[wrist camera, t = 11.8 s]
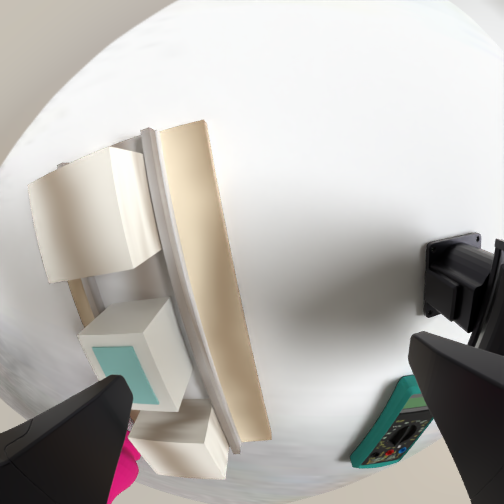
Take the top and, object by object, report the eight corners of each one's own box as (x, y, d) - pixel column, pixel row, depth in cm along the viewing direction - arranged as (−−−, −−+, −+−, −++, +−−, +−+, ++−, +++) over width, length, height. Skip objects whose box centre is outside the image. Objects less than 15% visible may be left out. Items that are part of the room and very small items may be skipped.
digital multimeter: (346, 457, 25) (350, 474, 22) (399, 371, 21) (411, 389, 19) (392, 451, 25) (398, 466, 22) (448, 368, 22) (461, 383, 19)
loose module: (170, 296, 18) (142, 334, 13) (193, 366, 19) (177, 413, 14) (111, 303, 18) (75, 336, 13) (138, 368, 20) (113, 408, 14)
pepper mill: (89, 429, 25) (31, 533, 6) (106, 412, 24) (37, 540, 4) (133, 458, 26) (92, 566, 7) (157, 446, 25) (113, 578, 5)
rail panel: (206, 123, 17) (178, 92, 10) (271, 432, 23) (272, 484, 17) (52, 177, 17) (-4, 181, 11) (147, 433, 24) (130, 475, 18)
